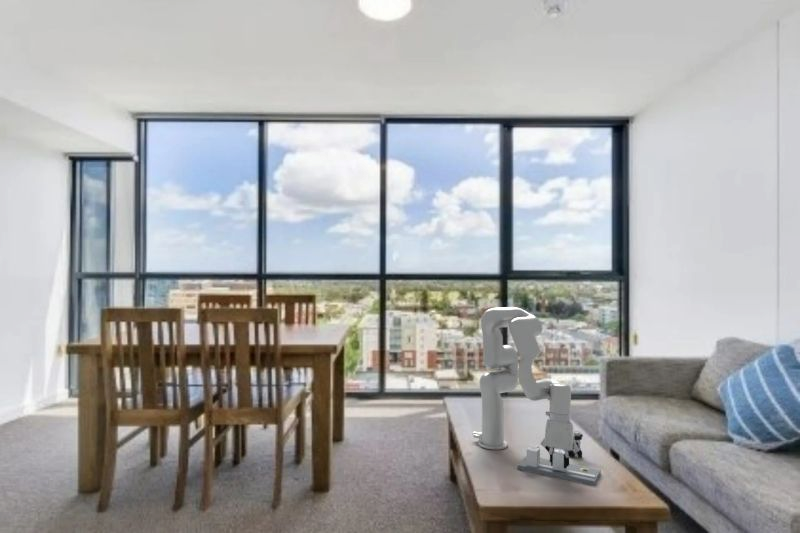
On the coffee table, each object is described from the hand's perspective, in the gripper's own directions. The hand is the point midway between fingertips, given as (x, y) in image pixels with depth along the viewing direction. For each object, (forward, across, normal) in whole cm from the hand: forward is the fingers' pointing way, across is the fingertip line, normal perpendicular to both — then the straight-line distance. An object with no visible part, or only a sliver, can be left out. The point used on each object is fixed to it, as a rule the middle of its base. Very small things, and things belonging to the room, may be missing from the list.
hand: (559, 465), depth 193 cm
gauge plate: (+3, -1, +2) cm, 4 cm away
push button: (+3, +1, +22) cm, 22 cm away
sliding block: (+1, 0, +2) cm, 2 cm away
